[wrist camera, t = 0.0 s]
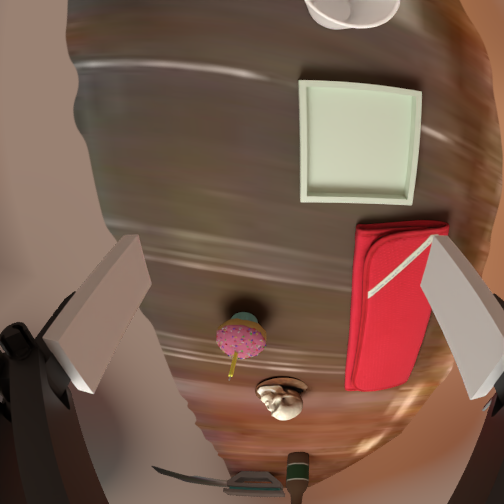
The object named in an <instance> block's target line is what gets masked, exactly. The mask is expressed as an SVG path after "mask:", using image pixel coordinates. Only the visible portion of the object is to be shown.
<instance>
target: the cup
mask: <svg viewBox="0 0 504 504" xmlns="http://www.w3.org/2000/svg"><path fill="white" fill-rule="evenodd" d="M304 1H305V2H306V5H307V7H308V10H309V13H310V15H311V16H312V18H313V19H314V20H315V21H316V22H317V23H318V24H320V25H322V26H324V27H326V28H329V29H336V30H337V29H346V28H371V27H376V26H379V25H381V24H383V23H385V22H387V21H388V20H390V19H391V18H392V17H393V16H394V14H395V13H396V12H397V10H398V7H399V5H400V0H304Z"/></svg>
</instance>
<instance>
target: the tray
mask: <svg viewBox="0 0 504 504" xmlns="http://www.w3.org/2000/svg"><path fill="white" fill-rule="evenodd" d="M298 95H299V136H300V202H332V203H371V204H396V205H412V201H413V194H414V187H415V180H416V172H417V163H418V153H419V142H420V128H421V108H422V92H421V91H415V90H409V89H403V88H396V87H389V86H382V85H373V84H363V83H352V82H339V81H318V80H298Z"/></svg>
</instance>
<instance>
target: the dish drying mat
mask: <svg viewBox="0 0 504 504" xmlns="http://www.w3.org/2000/svg"><path fill="white" fill-rule="evenodd" d="M448 232H449V224H448V223H445V222H441V221H435V220H413V221H402V222H390V223H377V224H358V225H357V226H356V232H355V250H354V259H353V274H352V297H351V309H350V329H349V340H348V349H347V359H346V368H345V390H347V391H356V390H358V391H363V392H366V391H377V390H383V389H388V388H392V387H395V386H398V385H401V384H404V383H405V382H407V380H408V378H409V376H410V374H411V372H412V369H413V367H414V364H415V361H416V358H417V355H418V352H419V350H420V347H421V344H422V341H423V338H424V335H425V331H426V327H427V324H428V321H429V318H430V314H431V310H432V308H431V306H430V304H429V302H428V300H427V298H426V296H425V294H424V292H423V290H422V288H421V287H420V284H421V281H422V278H423V274H424V271H425V267H426V264H427V260H428V257H429V253H430V249H431V245H432V241H433V237H434V235H444V236H448Z"/></svg>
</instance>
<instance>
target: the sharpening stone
mask: <svg viewBox="0 0 504 504" xmlns="http://www.w3.org/2000/svg"><path fill="white" fill-rule="evenodd" d="M244 481H270V482H271V483H273V484H263V483H243V482H244ZM227 486H228V487H230V488H229V489H227V488H224V489H223V492H225V493H226V494H228V495H236V496H254V497H255V496H256V497H285V493H284V492H283V486H282V484H281V482H279V481H278V480H277V479H276V478H275V477H273V476H272V475H271V474H270V473H269V472H252V471H241V472H240V473H238V474H237V475H235V476H234V477H232V478H231V479H229V480H228V481H227Z"/></svg>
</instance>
